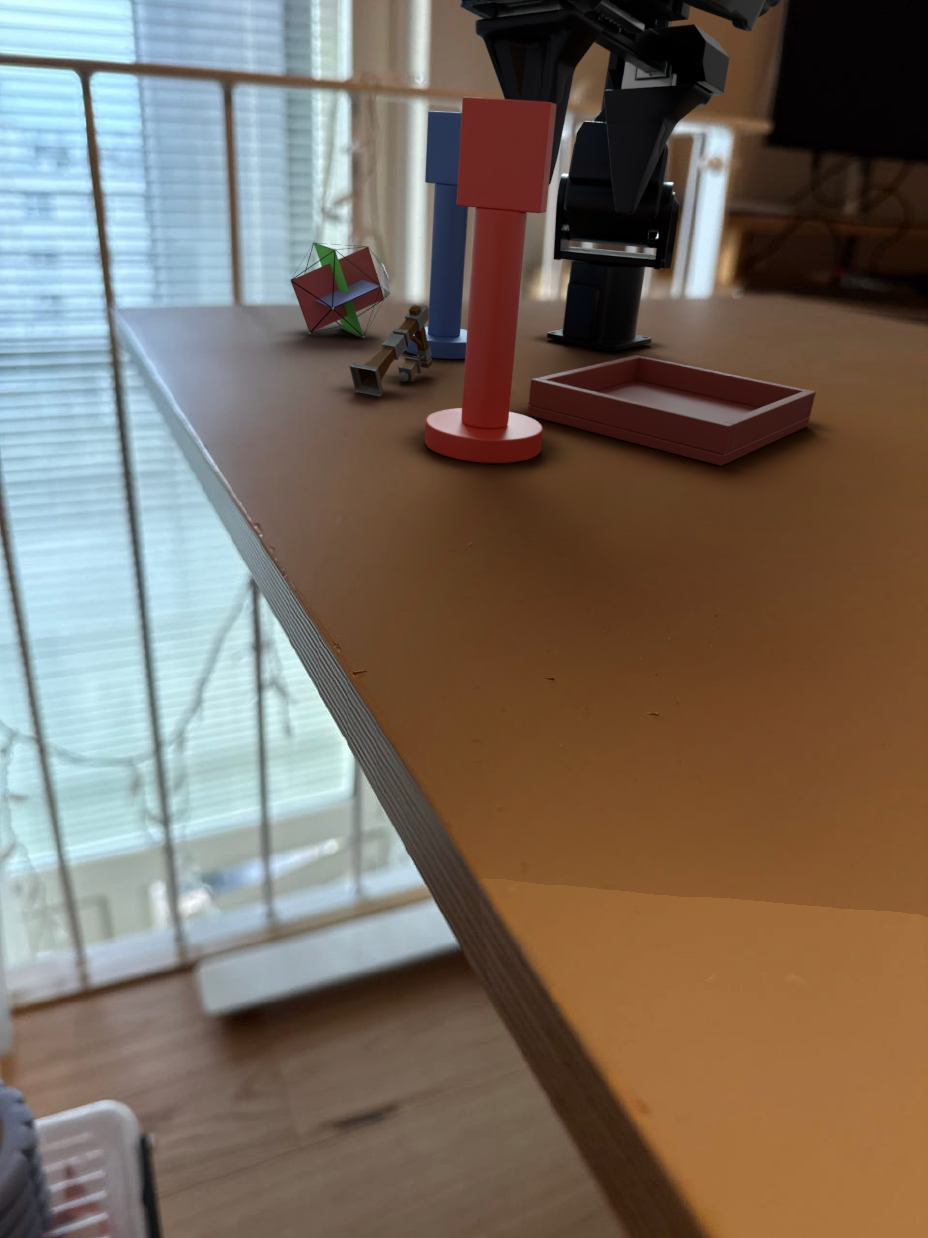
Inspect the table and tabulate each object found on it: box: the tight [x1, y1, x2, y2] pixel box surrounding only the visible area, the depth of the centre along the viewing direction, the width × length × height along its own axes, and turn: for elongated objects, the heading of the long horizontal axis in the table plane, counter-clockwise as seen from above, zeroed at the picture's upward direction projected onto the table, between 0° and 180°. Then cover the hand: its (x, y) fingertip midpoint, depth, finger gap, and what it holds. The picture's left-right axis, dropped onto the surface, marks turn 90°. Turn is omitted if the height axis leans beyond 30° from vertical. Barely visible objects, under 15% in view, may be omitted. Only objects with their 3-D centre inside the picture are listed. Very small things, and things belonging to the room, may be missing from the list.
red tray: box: [527, 354, 817, 467], centre depth 54 cm, size 12×12×2 cm
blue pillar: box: [404, 110, 469, 360], centre depth 65 cm, size 6×6×16 cm
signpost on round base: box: [424, 96, 557, 464], centre depth 44 cm, size 6×6×16 cm
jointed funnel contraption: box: [348, 303, 433, 397], centre depth 58 cm, size 2×8×4 cm, turn 154°
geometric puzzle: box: [289, 241, 391, 338], centre depth 71 cm, size 7×7×8 cm
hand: (585, 200), depth 52 cm, fingers open, 9 cm apart
